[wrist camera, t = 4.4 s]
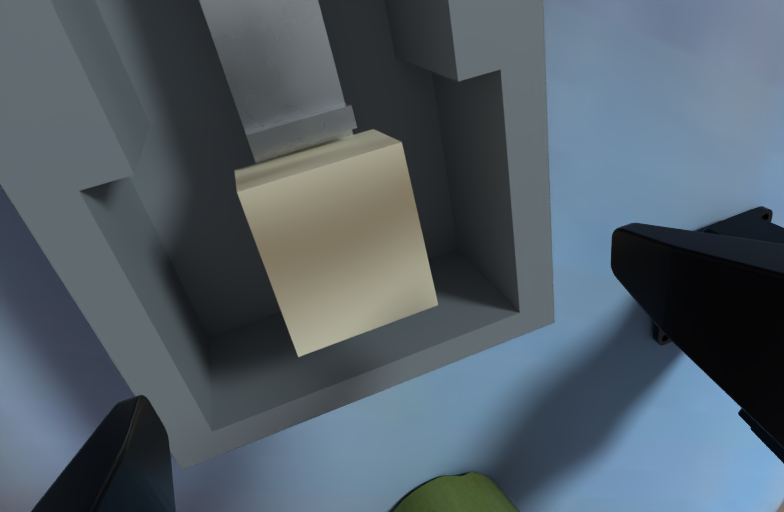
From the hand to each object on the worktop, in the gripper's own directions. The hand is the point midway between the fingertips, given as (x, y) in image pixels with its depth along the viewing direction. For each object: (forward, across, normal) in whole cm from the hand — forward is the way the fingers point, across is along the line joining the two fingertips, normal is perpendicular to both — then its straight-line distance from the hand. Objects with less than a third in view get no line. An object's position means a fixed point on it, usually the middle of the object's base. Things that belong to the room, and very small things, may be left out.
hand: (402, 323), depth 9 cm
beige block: (+6, 0, +1) cm, 7 cm away
